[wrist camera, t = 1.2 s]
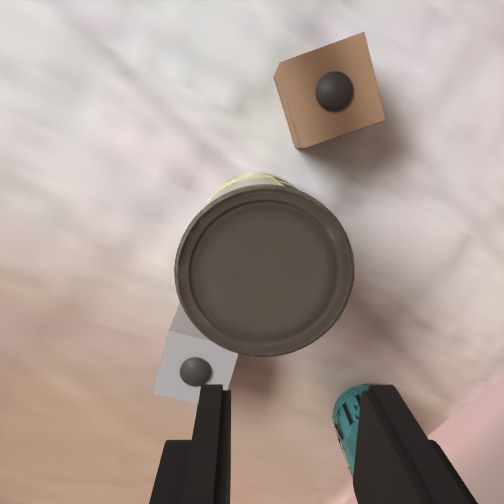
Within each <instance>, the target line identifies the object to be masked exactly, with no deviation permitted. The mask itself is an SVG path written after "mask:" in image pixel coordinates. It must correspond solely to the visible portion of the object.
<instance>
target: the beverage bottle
mask: <svg viewBox="0 0 504 504" xmlns="http://www.w3.org/2000/svg"><path fill="white" fill-rule="evenodd" d="M369 386H370V385H367V384H364V385H357V386H354V387H351V388H349V389H347V390H346V391H344V392H343V393H342V394H341V395H340V396H339V398H338V399H337V401H336V403H335V406H334V410H333V411H334V413H333V414H334V415H332V420H333V418H334V422H333V423H335V427H336V429H337V433H338V434H339V435H338V436H339V437H340V439H339V437H338V439H339V443H340V440H341V443H342V446H343V449H344V452H345V455H346V458H347V462H348V463H349V467H350V468H348V469H350V470H351V472H352V474H351V475H353V472H354V462H355V452H356V441H357V431H358V421H359V411H360V401H361V393H362V391H368V388H369ZM335 427H334V428H335ZM336 429H335V431H336ZM337 433H336V434H337ZM340 446H341V444H340ZM341 449H342V447H341ZM342 452H343V450H342ZM345 455H344V456H345ZM346 458H345V459H346Z"/></svg>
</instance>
